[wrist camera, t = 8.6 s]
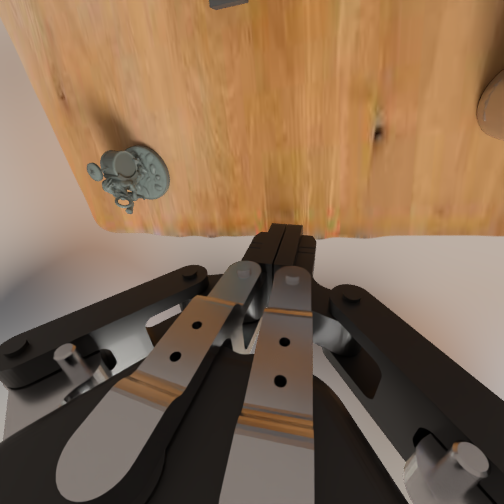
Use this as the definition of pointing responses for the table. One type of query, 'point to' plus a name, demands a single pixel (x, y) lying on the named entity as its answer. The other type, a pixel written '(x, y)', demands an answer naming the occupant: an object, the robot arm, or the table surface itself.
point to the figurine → (132, 174)
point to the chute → (225, 3)
